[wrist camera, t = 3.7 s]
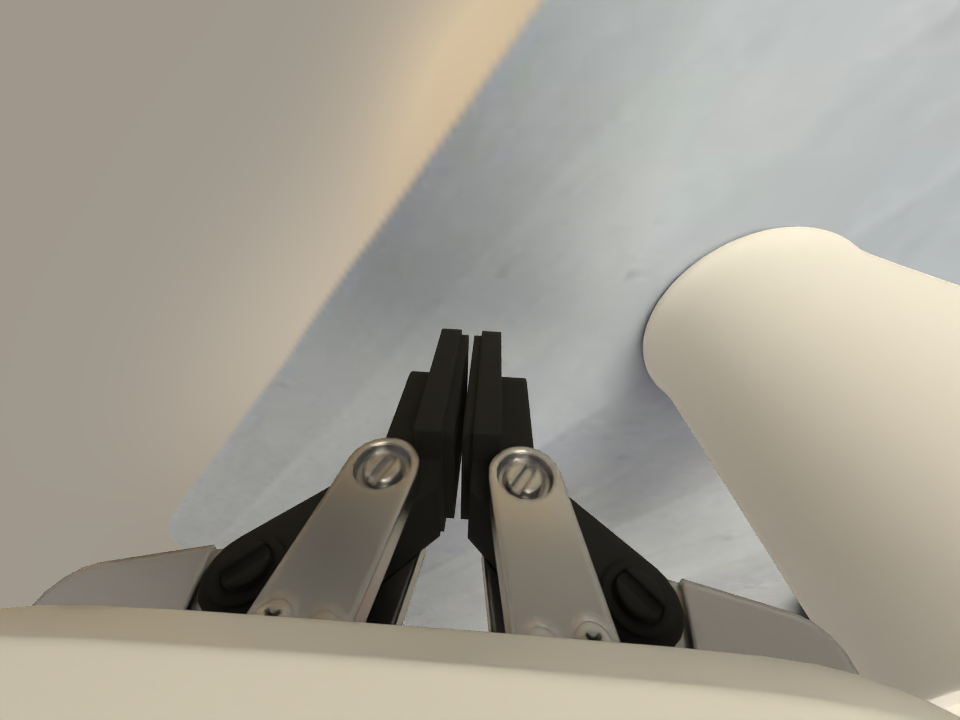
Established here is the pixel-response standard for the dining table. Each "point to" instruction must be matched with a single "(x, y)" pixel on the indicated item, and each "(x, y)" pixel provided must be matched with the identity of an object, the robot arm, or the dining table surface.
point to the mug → (832, 434)
